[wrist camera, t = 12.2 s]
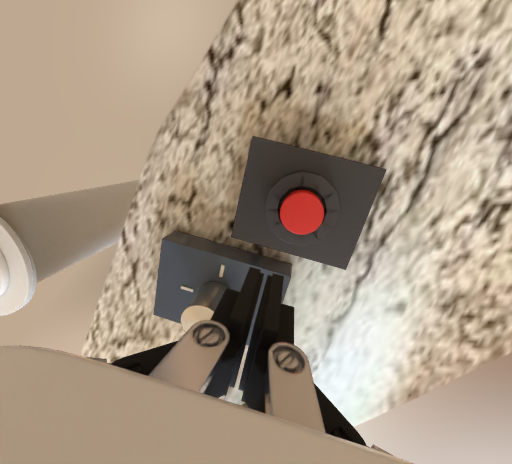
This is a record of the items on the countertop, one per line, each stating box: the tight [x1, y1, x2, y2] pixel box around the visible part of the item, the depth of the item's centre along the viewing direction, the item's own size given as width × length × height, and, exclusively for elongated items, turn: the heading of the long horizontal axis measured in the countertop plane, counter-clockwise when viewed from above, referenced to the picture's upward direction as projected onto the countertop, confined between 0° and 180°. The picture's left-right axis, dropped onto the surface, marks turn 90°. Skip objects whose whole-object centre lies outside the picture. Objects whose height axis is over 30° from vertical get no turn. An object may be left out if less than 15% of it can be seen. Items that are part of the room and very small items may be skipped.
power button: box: [280, 189, 324, 235], centre depth 21 cm, size 4×4×2 cm
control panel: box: [154, 231, 292, 345], centre depth 29 cm, size 14×10×3 cm
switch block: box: [231, 136, 386, 270], centre depth 24 cm, size 12×10×4 cm
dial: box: [181, 281, 228, 332], centre depth 25 cm, size 4×4×5 cm
